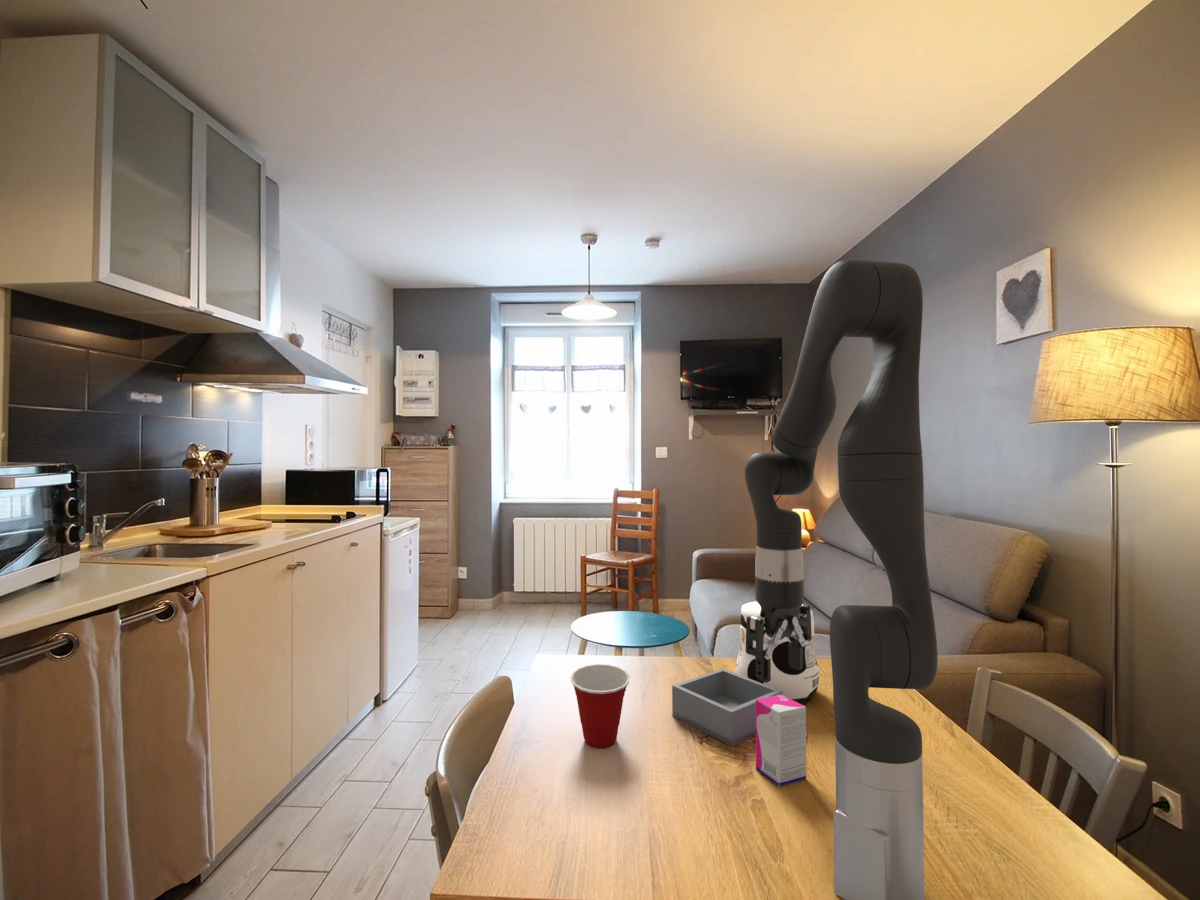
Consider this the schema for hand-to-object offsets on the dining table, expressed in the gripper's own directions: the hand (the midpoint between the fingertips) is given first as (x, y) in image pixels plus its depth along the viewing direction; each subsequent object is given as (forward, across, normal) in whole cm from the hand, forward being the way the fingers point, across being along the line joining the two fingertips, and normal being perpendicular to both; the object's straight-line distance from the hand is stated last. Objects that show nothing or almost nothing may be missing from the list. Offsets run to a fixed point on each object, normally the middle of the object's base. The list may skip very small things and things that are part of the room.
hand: (780, 674), depth 91 cm
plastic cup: (+16, -17, +26) cm, 35 cm away
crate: (+16, +8, +18) cm, 25 cm away
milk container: (+17, +27, +20) cm, 37 cm away
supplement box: (+16, 0, 0) cm, 16 cm away
